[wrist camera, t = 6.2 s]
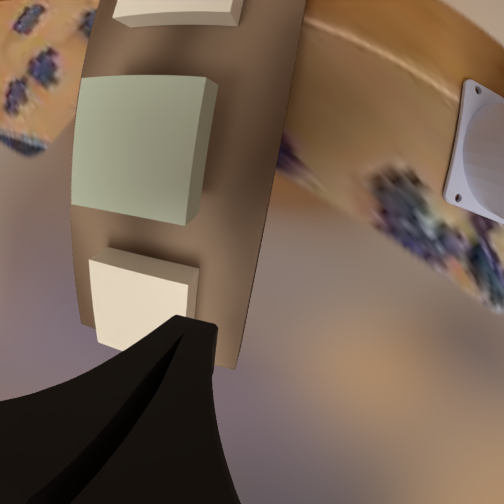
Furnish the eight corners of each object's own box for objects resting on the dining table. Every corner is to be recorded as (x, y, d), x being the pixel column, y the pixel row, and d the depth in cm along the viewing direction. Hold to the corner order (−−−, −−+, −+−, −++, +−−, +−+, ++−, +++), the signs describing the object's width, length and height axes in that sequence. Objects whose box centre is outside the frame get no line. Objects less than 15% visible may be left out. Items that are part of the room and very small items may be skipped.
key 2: (199, 268, 17) (188, 285, 15) (192, 349, 19) (182, 369, 17) (106, 246, 17) (88, 259, 15) (111, 325, 19) (98, 342, 17)
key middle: (218, 85, 12) (206, 77, 10) (198, 213, 14) (185, 225, 12) (105, 82, 12) (81, 78, 10) (93, 195, 14) (71, 204, 12)
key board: (314, -43, 11) (316, -60, 9) (239, 351, 21) (235, 369, 19) (133, -42, 11) (120, -53, 10) (94, 310, 22) (81, 323, 20)
